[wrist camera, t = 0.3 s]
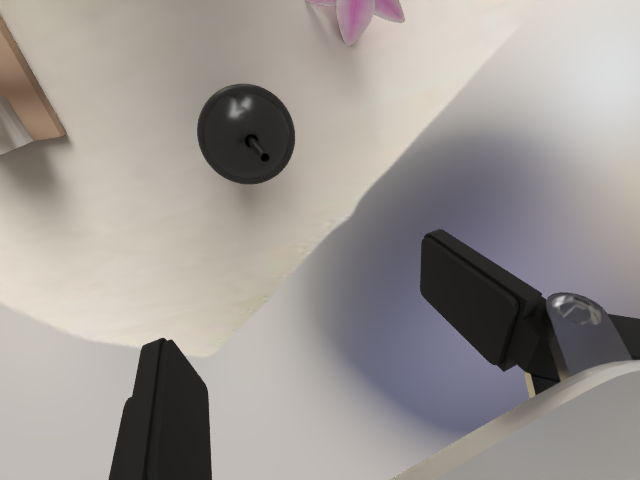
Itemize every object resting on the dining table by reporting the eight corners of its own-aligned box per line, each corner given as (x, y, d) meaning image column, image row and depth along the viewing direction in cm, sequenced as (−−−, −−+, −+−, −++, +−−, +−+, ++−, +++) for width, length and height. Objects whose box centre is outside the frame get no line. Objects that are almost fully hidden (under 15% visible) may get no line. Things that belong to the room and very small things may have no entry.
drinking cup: (219, 160, 36) (239, 233, 20) (181, 96, 31) (168, 123, 15) (274, 134, 37) (337, 183, 20) (245, 68, 32) (296, 64, 16)
